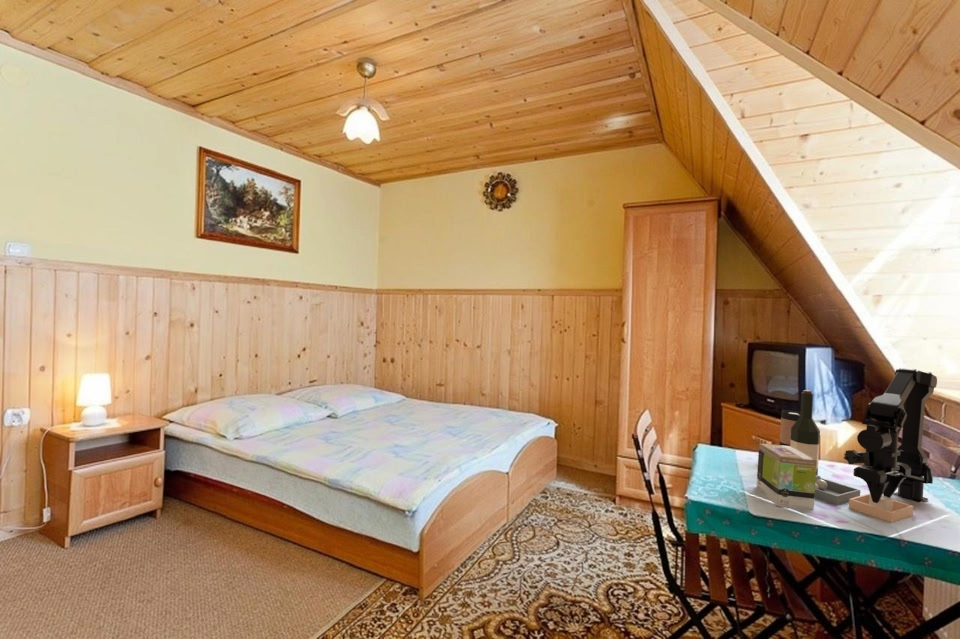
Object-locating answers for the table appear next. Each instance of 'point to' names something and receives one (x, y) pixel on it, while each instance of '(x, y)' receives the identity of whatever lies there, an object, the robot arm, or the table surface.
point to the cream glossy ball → (821, 484)
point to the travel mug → (787, 426)
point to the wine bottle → (806, 429)
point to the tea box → (786, 476)
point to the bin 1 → (836, 492)
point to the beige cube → (883, 503)
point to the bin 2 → (898, 509)
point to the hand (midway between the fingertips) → (880, 500)
